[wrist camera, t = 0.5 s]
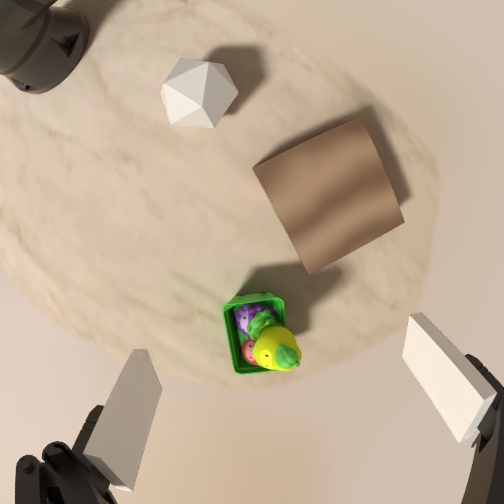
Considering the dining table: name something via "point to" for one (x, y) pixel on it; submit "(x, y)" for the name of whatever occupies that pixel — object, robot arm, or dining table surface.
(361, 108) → the dining table surface
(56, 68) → the robot arm
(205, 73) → the die
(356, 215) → the walnut block
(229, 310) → the fruit basket
